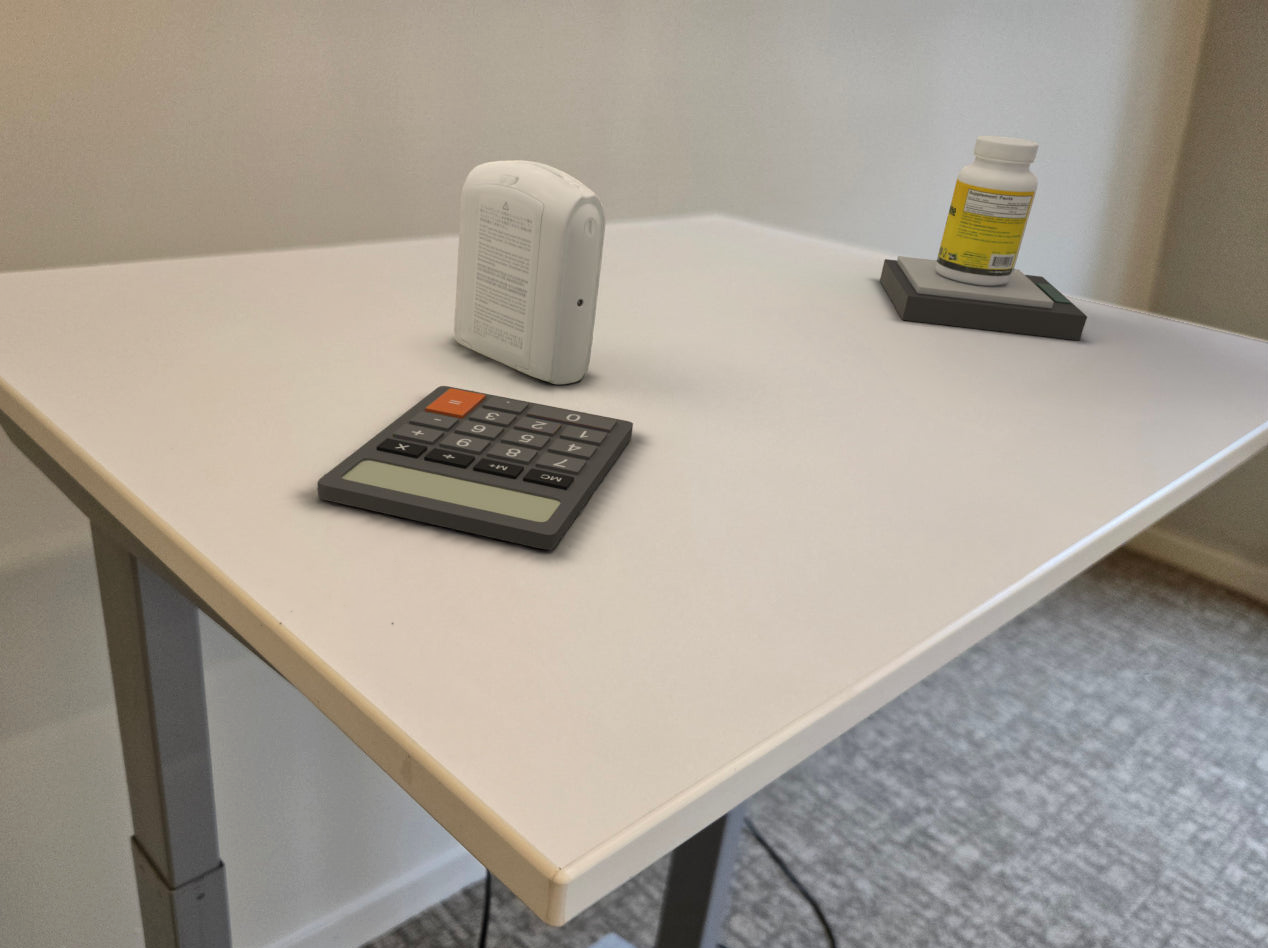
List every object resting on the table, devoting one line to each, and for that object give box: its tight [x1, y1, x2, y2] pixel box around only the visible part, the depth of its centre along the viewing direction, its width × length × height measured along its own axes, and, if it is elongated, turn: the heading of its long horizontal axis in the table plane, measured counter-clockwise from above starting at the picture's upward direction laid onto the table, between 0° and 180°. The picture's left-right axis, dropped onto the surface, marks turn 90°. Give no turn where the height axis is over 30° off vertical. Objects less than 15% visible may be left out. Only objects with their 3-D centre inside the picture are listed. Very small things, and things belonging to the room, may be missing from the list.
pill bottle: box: [936, 135, 1039, 286], centre depth 88 cm, size 6×6×11 cm
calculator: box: [317, 385, 634, 551], centre depth 55 cm, size 12×1×15 cm
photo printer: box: [453, 159, 607, 385], centre depth 67 cm, size 10×4×12 cm, turn 45°
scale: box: [879, 255, 1088, 341], centre depth 91 cm, size 14×13×3 cm
